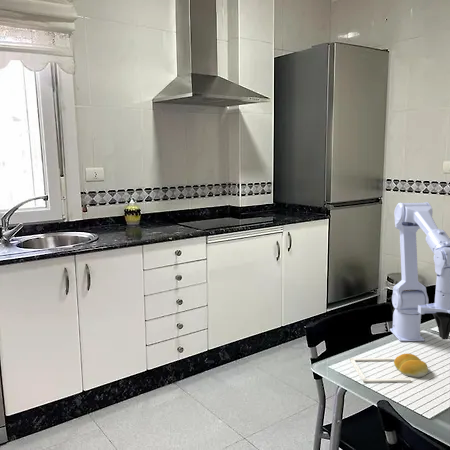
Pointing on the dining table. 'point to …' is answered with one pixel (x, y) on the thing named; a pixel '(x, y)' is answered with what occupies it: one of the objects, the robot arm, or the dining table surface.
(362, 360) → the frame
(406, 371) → the bread roll
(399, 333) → the robot arm
